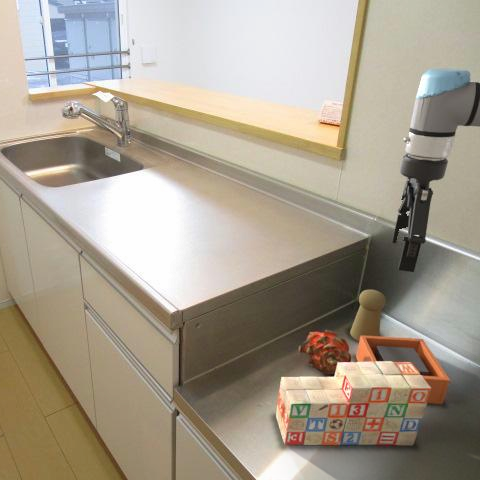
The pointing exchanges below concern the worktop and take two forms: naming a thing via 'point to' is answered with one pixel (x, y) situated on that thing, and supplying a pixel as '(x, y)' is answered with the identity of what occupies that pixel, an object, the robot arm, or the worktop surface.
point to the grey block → (401, 357)
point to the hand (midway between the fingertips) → (402, 255)
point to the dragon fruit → (326, 351)
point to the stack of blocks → (354, 405)
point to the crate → (436, 373)
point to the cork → (368, 314)
